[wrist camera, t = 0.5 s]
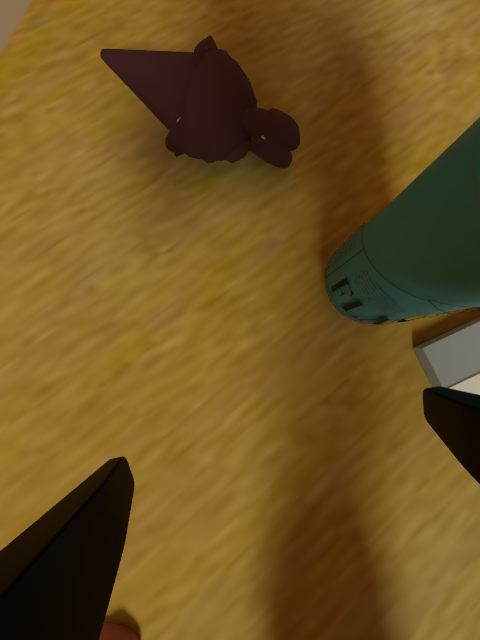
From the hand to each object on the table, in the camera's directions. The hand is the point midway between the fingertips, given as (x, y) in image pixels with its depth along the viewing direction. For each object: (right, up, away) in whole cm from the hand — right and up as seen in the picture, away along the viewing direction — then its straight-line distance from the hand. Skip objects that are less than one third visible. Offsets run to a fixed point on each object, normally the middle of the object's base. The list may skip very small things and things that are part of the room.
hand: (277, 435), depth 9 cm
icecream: (-4, +18, +15) cm, 24 cm away
